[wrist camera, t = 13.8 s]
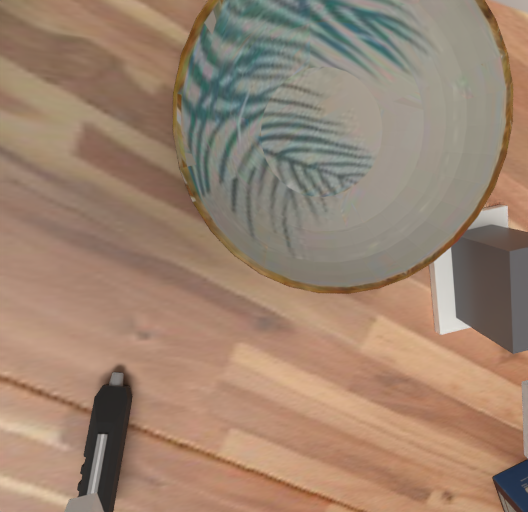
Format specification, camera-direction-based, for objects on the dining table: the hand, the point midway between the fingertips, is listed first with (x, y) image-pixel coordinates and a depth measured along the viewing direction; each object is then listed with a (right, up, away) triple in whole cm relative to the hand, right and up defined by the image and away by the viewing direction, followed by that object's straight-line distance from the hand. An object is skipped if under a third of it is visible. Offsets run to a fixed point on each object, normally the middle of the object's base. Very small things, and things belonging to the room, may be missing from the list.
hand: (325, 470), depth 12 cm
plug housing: (+19, +5, +28) cm, 34 cm away
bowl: (+3, +18, +24) cm, 30 cm away
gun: (-17, -12, +29) cm, 35 cm away
